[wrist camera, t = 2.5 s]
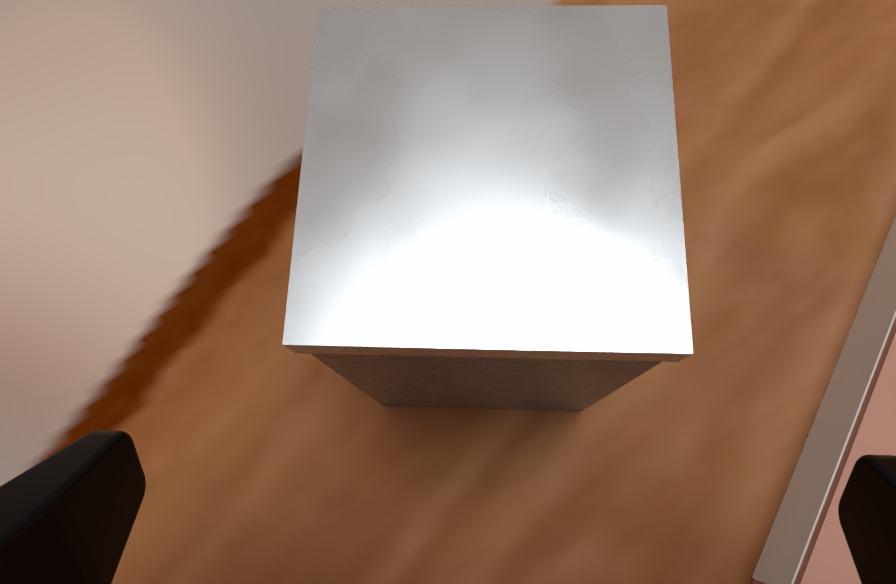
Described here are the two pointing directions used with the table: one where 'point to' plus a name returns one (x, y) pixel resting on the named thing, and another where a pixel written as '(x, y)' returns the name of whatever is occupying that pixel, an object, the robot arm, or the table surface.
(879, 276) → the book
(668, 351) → the tin
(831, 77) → the table surface
